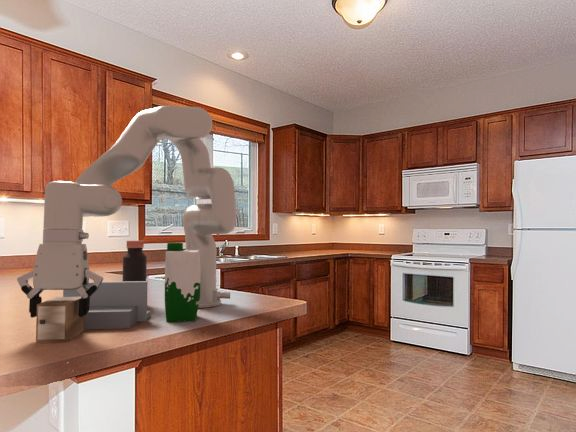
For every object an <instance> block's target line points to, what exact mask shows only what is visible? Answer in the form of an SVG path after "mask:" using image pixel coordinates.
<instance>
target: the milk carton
mask: <svg viewBox="0 0 576 432" xmlns="http://www.w3.org/2000/svg"><path fill="white" fill-rule="evenodd" d="M183 248H184V243H183V242H167V243H166V251H165V261H164V262H165V264H164V309H165V311H164V312H165V320H166V323H178V322H179V323H182V322H183V323H184V322H195V321H196V318H197V316H198V309H199V308H198V306H199V302H200V275H201V270H200V257H199V250H186V249H183Z"/></svg>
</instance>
